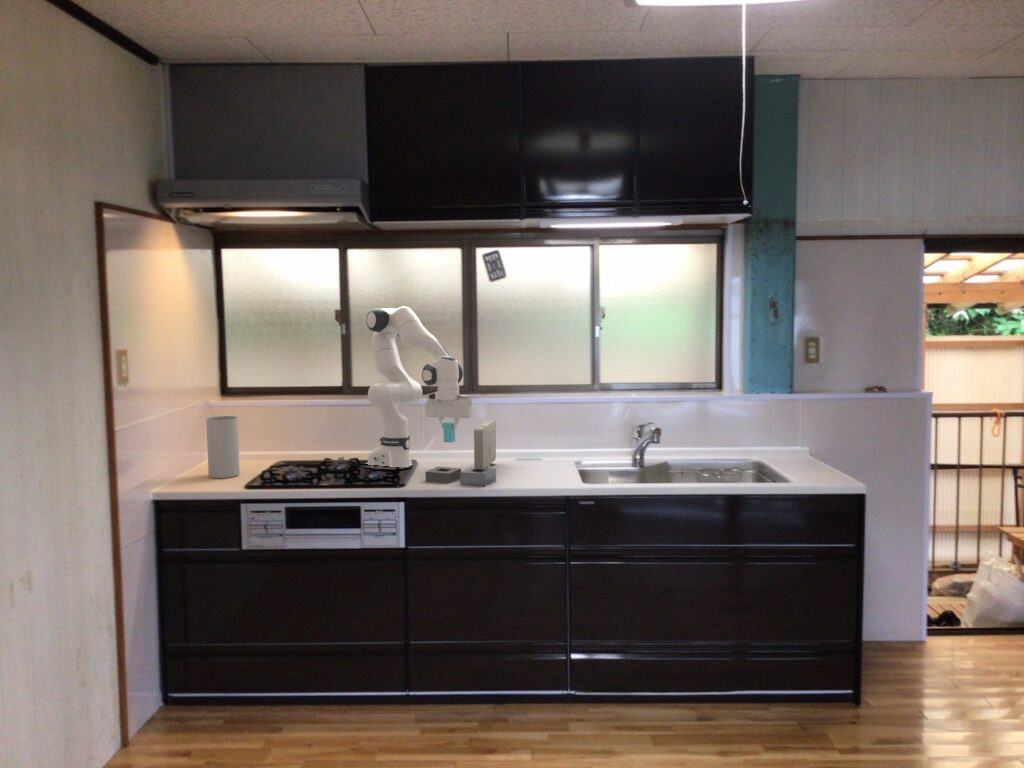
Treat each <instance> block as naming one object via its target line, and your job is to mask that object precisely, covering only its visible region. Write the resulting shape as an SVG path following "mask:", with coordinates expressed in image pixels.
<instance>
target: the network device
mask: <svg viewBox="0 0 1024 768" xmlns="http://www.w3.org/2000/svg"><path fill="white" fill-rule="evenodd" d="M496 423H497V422H496V420H486V421H484V422H482V423H481V424H479V425H477V426H476V427H474V430H473V448H474V449H473V450H474V451H473V453H474V454H473V457H474V458H473V460H474V461H473V462H474V464H473V467H479V468H492V469H496V468H498V466H499V464H498V463H494V462H495V461H496V458H497V438H496V437H497V436H496V435H497V427H496V425H497V424H496Z"/></svg>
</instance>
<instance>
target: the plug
mask: <svg viewBox="0 0 1024 768" xmlns="http://www.w3.org/2000/svg"><path fill="white" fill-rule="evenodd" d="M454 423H455V421H444V423H443V428H442V430H443V443H454V442H456V429H452V424H454Z"/></svg>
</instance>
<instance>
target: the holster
mask: <svg viewBox="0 0 1024 768" xmlns="http://www.w3.org/2000/svg"><path fill="white" fill-rule="evenodd" d="M460 472H462V468H459V467H447V466H436V467H433V468H431V469H428V470H425V473H424V474H425V482H430V483H431V482H433V483H441V482H442V483H443V484H444V483H445V484H451V483H453V482H456V481H457V480H460Z"/></svg>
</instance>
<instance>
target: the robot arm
mask: <svg viewBox="0 0 1024 768" xmlns="http://www.w3.org/2000/svg"><path fill="white" fill-rule="evenodd" d="M365 322H366V326H367V328H368V330H370V331H371V332H373V333H372V335H371V346H372V347H371V348H372V354H373V358H374V362H375V367H376V370H377V373H379V374H380V375H381V376H383V377H385V378H386V379H387V380H388V381H381V382H377V383H374V384H372V385H370V387H369V388H368V391H367V398H368V401H369V403H370V404H371V405H372V406H373V407H375V408H376V409H377V411H378V412H379V413H380V416H381V419H382V424H383V436H382V437H381V438H379V439H378V442H380V444H379V445H378V446H377V447H376V448H375V449H373V450H372V451H371V452H370V453H369V454H368V457H367V462H366V463H365V464H368V465H379V466H389V467H408V466H411V465H413V462H412V458H411V451H410V449H411V439H410V437H411V436H410V435H409V429H410V428H409V419H408V418H407V416H406V415H404V414H402V413H401V412H400V411H399V409H398V408H399V407H398V406H406V405H412V404H414V403H415V404H416V403H418V402H420V401H421V399H422V397H423V388H422V386H421V384H420V383H419V382H418V381H416V380H414V379H413V378H412V377H411V376H410V375H409V374H408V373H407V371H406V370H405V368H404V366H403V363H402V360H401V357H400V354H399V348H398V346H397V345H398V344H397V341H396V338H397V337H399V338H400V339H401V342H402V343H403V344H404V345H405V346H406V347H408V348H411V349H416V350H420V351H424V352H427V353H429V354H431V355H432V356H433V357H434V358H435V360H434V361H433V362H431V363H427V364H425V365H424V366H423V367H422V369H421V370H422V371H421V379H422V381H423V383H424V384H425V385H427V386H429V387H437V390H436V391H434V392H431V393H427V395H426V399H427V401H426V402H425V416H426V417H428V418H438V421H439V423H440V424H441V425H440V428H441V429H443V423H445V421H444V419H445V418H452V419H454V422H455V423H454V424H452V429H455V430H456V429H458V424H459V421H460V419H470V418H472V417H473V408H472V405H473V404H472V403H473V402H472V398H471V397H470V396H469V395H461V394H460V385H459V384H460V383H461V381H462V379H463V376H464V370H463V368H462V365H461V364H460V363H459V362H458V359H457V358H456V356H453V355H451V354H450V353H449V351H448V350H447V349H446V348H445V346H444V345H443V343H442V342H441V341H440V340H439V339H438V338H437V337H436V336H435V335H433V334H432V333H430V332H429V331H428V329H427V328H425V326H424V325H423V323H422V321H421V320H420V318H419V316H418V315H416V313H415V312H414V311H413V310H412V309H411V307H409V306H400V307H398V308H394V307H392V308H391V307H388V308H387V307H386V308H380V307H379V308H378V307H377V308H372V309H370V310H369V311H368V313H367V315H366V320H365Z"/></svg>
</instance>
